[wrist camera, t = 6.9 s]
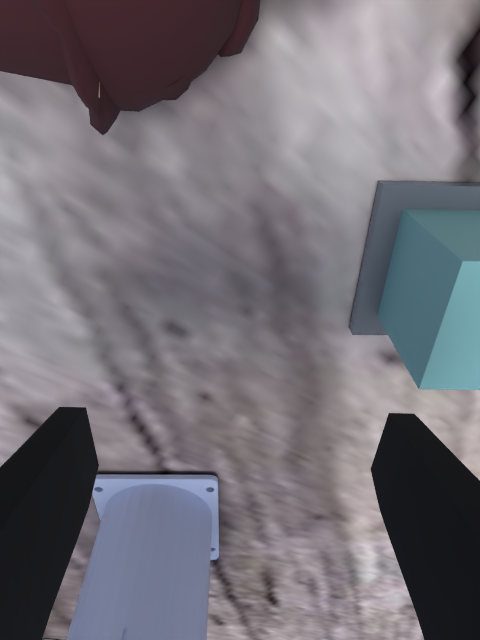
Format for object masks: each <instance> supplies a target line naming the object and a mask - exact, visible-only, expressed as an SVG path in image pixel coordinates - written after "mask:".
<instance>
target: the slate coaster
mask: <svg viewBox="0 0 480 640" xmlns="http://www.w3.org/2000/svg"><path fill="white" fill-rule="evenodd" d="M403 209H418V210H478V211H480V183H460V182H408V181H378V186H377V191H376V196H375V201H374V206H373V211H372V216H371V221H370V226H369V231H368V236H367V241H366V246H365V251H364V256H363V261H362V266H361V271H360V276H359V281H358V286H357V291H356V296H355V301H354V306H353V311H352V316H351V321H350V326H349V328H350V331H351V333H352V335H388V334H387V332H386V330H385V328H384V327H383V325H382V323H381V321H380V320H379V318H378V312H379V307H380V303H381V299H382V295H383V291H384V286H385V282H386V278H387V274H388V270H389V265H390V261H391V257H392V253H393V249H394V244H395V240H396V236H397V232H398V228H399V223H400V219H401V215H402V211H403Z"/></svg>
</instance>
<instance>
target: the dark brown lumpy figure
mask: <svg viewBox="0 0 480 640" xmlns="http://www.w3.org/2000/svg"><path fill="white" fill-rule="evenodd" d="M259 5H260V0H0V71H3V72H8V73H13V74H18V75H24V76H29V77H34V78H39V79H44V80H49V81H55V82H60V83H65V84H70V85H73V86H74V88H75V90H76V92H77V94H78V96H79V97H80V99H81V100H82V101H83V103H84V104H85V106H86V107H87V108H89V115H90V124H91V125H92V126H93V127H94V128H95V129H96V130H97V131H99V132H100V133H101V134H102V135H104V134H105V133H106V132H108V130H109V129H110V127H111V126H112V124H113V123H114V121H115V120H116V118H117V116H118V114H119V112H120V110H123V111H137V112H139V111H141V110H143V109H145V108H147V107H149V106H151V105H153V104H155V103H158V102H160V101H162V100H176V99H177V98H178V97H180V96H181V95H182V94H183V93H184V92H185V91H186V90H187V89H188V87H189V85H190V83H191V82H192V81H193V80H194V79H196V78H197V77H198V76H199V75H201V74H202V73H203V72H204V71H206V69H207V68H208V67H209V65H210V64H211V62H212V61H213V60H214V58H215V57H216V55H217V54H218V55H219V56H220V57H227V56H232V55H236V54H239V53H241V52H242V50H243V48H244V46H245V44H246V42H247V40H248V38H249V36H250V34H251V32H252V30H253V28H254V26H255V24H256V22H257V21H258V15H259Z"/></svg>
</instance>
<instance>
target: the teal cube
mask: <svg viewBox="0 0 480 640" xmlns="http://www.w3.org/2000/svg"><path fill="white" fill-rule="evenodd" d="M378 318H379V320H380V321H381V323H382V325H383V327H384V328H385V330H386V332H387V334H388V336H389V337H390V339H391V341H392V343H393V344H394V346H395V348H396V350H397V351H398V353H399V355H400V357H401V358H402V360H403V362H404V364H405V366H406V367H407V369H408V371H409V373H410V374H411V376H412V378H413V380H414V381H415V383H416V385H417V387H418V389H445V390H480V211H478V210H418V209H403V211H402V215H401V219H400V223H399V228H398V232H397V236H396V240H395V244H394V249H393V253H392V257H391V261H390V265H389V270H388V274H387V278H386V282H385V286H384V291H383V295H382V299H381V303H380V307H379V312H378Z"/></svg>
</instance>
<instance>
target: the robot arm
mask: <svg viewBox="0 0 480 640" xmlns="http://www.w3.org/2000/svg"><path fill="white" fill-rule="evenodd" d="M98 466H99V464H98V460H97V455H96V451H95V446H94V442H93V437H92V433H91V428H90V424H89V419H88V415H87V410H86V408H82V407H59V408H58V409H57V410H56V411H55V412H54V413H53V414H52V415H51V416H50V417H49V418H48V419H47V420H46V421H45V422H44V423H43V424H42V425H41V426H40V427H39V428H38V429H37V430H36V431H35V432H34V434H33V435H32V436H31V437H30V438H29V439H28V440H27V441H26V442H25V443H24V444H23V445H22V446H21V447H20V448H19V449H18V450H17V451H16V452H15V453H14V454H13V455H12V456H11V457H10V458H9V459H8V460H7V461H6V462H5V463H4V464H3V465H2V466H1V467H0V640H42V637H43V634H44V631H45V628H46V625H47V622H48V619H49V616H50V613H51V610H52V607H53V604H54V602H55V599H56V596H57V593H58V591H59V588H60V585H61V583H62V580H63V577H64V574H65V572H66V569H67V566H68V563H69V561H70V558H71V555H72V553H73V550H74V547H75V544H76V542H77V539H78V536H79V533H80V530H81V528H82V525H83V522H84V519H85V516H86V514H87V511H88V508H89V504H90V500H91V496H92V494H93V498H94V501H95V505H96V508H97V512H98V516H99V519H100V526H99V529H98V533H97V536H96V540H95V543H94V547H93V550H92V554H91V557H90V560H89V564H88V567H87V571H86V574H85V578H84V581H83V584H82V588H81V591H80V595H79V598H78V602H77V605H76V609H75V612H74V615H73V619H72V622H71V626H70V629H69V633H68V636H67V640H206V639H207V618H208V597H209V576H210V560H215V559H217V558H218V557H219V511H218V478H217V477H216V476H214V475H116V474H98V475H97V470H98ZM371 472H372V477H373V481H374V486H375V491H376V495H377V499H378V503H379V508H380V512H381V515H382V517H383V520H384V523H385V526H386V529H387V532H388V535H389V538H390V541H391V544H392V546H393V549H394V552H395V555H396V558H397V560H398V563H399V566H400V569H401V572H402V574H403V577H404V580H405V583H406V586H407V589H408V591H409V594H410V597H411V600H412V603H413V605H414V608H415V611H416V614H417V617H418V620H419V624H420V627H421V630H422V633H423V636H424V640H480V480H479V479H478V478H476V477H475V476H474V475H473V474H472V473H471V472H470V470H469V469H468V468H467V467H466V466H465V465H464V464H463V463H462V462H461V461H460V460H459V459H458V458H457V457H456V456H455V455H454V454H453V453H452V452H451V451H450V450H449V449H448V448H447V447H446V446H445V445H444V444H443V443H442V442H441V441H440V440H439V439H438V438H437V437H436V436H435V435H434V434H433V433H432V432H431V430H430V429H429V428H428V427H427V426H426V425H425V424H424V423H423V422H422V421H421V420H420V419H419V418H418V417H417V416H416V415H415V414H400V413H389V415H388V418H387V421H386V424H385V427H384V430H383V433H382V436H381V439H380V442H379V445H378V448H377V452H376V455H375V458H374V461H373V464H372V467H371Z"/></svg>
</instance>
